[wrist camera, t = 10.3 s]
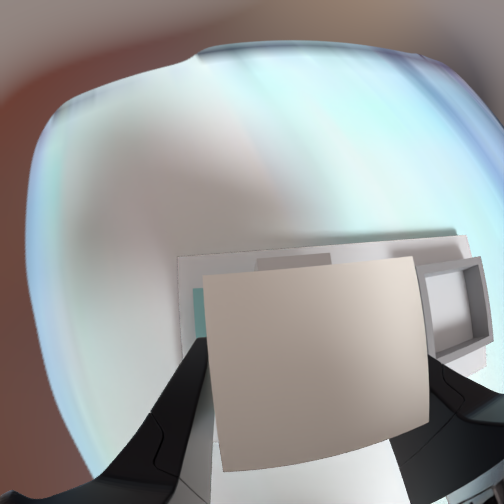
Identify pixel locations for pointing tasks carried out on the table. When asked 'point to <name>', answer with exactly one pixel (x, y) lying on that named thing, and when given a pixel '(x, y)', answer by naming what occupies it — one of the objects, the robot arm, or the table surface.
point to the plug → (314, 358)
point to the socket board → (422, 249)
